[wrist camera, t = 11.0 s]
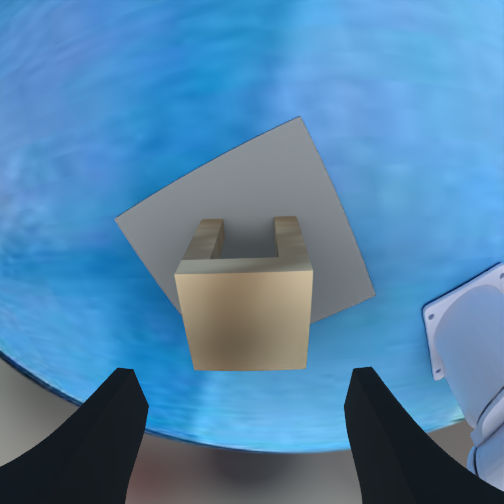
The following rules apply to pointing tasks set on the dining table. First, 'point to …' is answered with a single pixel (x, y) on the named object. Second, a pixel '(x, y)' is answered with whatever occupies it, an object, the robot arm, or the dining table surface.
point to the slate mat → (255, 216)
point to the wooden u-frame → (246, 302)
